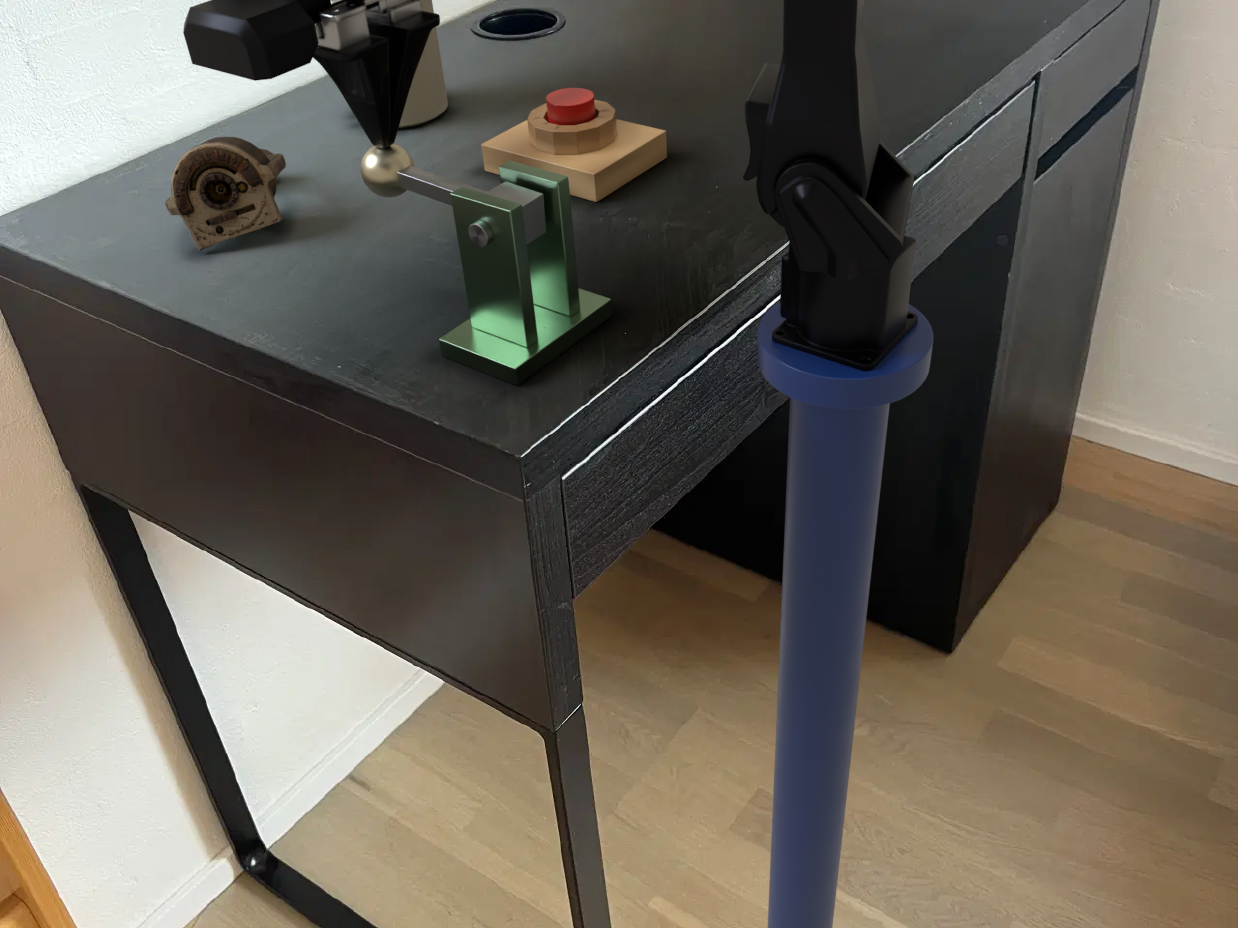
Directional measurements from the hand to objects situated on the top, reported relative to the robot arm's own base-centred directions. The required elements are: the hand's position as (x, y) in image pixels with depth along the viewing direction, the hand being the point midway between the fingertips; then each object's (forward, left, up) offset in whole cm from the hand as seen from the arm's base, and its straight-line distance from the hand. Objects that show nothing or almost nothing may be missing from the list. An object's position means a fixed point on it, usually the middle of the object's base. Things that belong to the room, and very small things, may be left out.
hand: (383, 145), depth 68 cm
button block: (+3, -21, -10) cm, 23 cm away
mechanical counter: (+19, -2, -10) cm, 22 cm away
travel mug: (+23, -22, -10) cm, 33 cm away
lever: (-5, 0, -3) cm, 6 cm away
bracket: (-10, 0, -10) cm, 14 cm away
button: (+3, -21, -6) cm, 22 cm away
